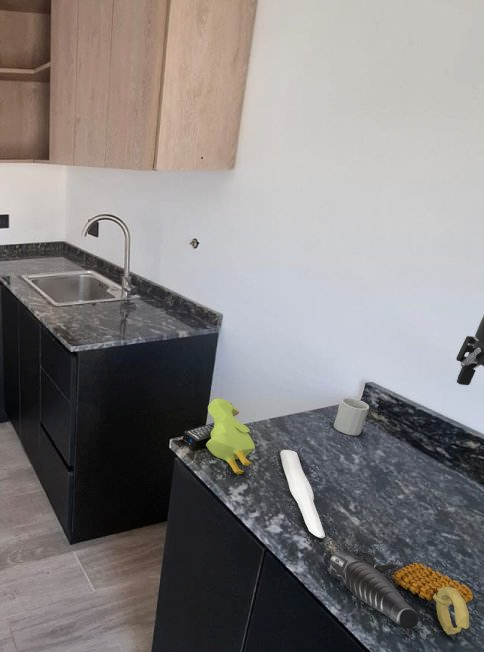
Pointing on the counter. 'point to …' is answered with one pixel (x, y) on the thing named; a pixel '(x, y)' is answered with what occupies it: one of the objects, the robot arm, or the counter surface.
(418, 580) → the ornament
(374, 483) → the counter surface
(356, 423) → the pot
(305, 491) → the white long flat piece
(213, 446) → the toy
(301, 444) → the counter surface
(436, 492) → the counter surface
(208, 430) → the multiport hub
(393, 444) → the counter surface
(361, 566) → the ribbed torch
